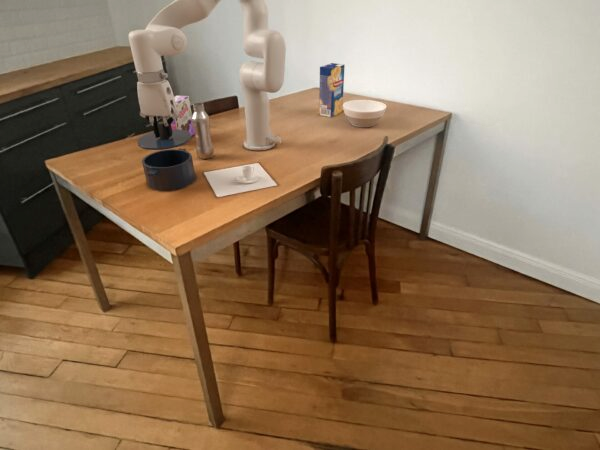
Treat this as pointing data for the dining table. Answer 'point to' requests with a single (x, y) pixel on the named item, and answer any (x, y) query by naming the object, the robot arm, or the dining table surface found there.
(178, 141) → the lid
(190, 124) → the candy box
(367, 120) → the bowl
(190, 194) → the dining table surface
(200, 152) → the metal water bottle
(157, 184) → the dark blue cooking pot
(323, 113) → the blue cardboard box
